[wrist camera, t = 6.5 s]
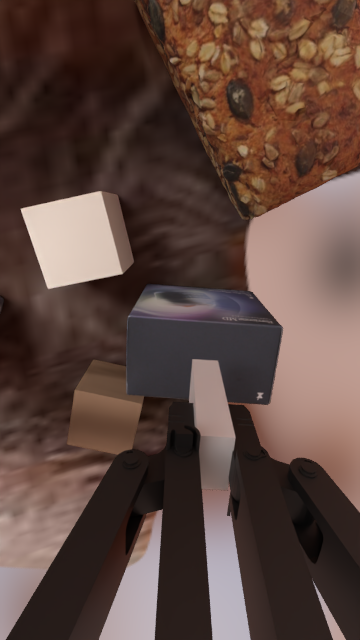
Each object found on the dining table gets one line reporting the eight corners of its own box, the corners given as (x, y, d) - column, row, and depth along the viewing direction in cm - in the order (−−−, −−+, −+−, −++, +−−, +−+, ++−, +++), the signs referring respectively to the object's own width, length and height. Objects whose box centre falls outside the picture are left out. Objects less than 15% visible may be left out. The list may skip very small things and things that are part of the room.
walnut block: (93, 358, 33) (74, 389, 28) (149, 371, 34) (142, 403, 28) (85, 406, 35) (66, 444, 29) (138, 417, 36) (130, 457, 30)
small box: (255, 286, 30) (289, 323, 21) (246, 348, 33) (272, 409, 23) (144, 279, 30) (125, 313, 20) (143, 342, 32) (124, 400, 23)
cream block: (53, 209, 28) (20, 208, 23) (117, 194, 28) (100, 190, 22) (73, 274, 30) (48, 289, 25) (134, 262, 30) (122, 273, 24)
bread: (343, 160, 27) (429, 132, 17) (229, 223, 29) (251, 229, 19) (252, -106, 22) (304, -350, 12) (120, -9, 23) (76, -156, 14)
